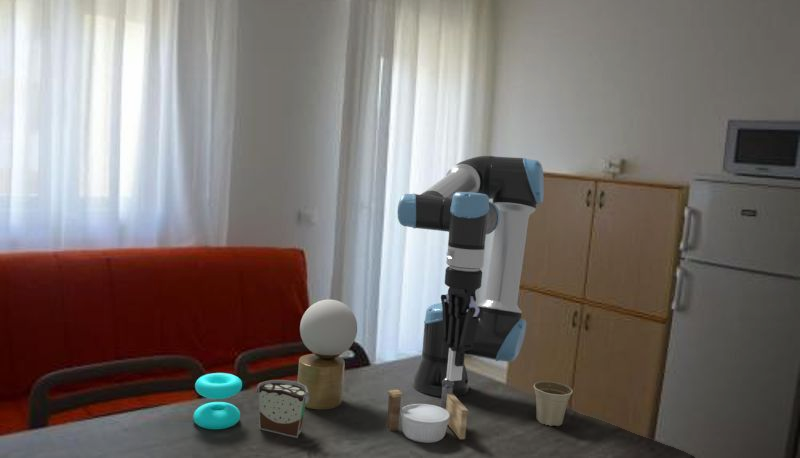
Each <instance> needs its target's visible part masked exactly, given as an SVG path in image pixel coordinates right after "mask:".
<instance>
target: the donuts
mask: <svg viewBox="0 0 800 458" xmlns="http://www.w3.org/2000/svg"><path fill="white" fill-rule="evenodd" d="M242 387H243V381H242V379H241V378H239V376H236V375H234V374H232V373H226V372H213V373H207V374H203V375H201V376H200V377H198V379H196V382H195V384H194V388H195V391H196V392H197V393H198V394H199V395H200V396H202V397H205V398H207V399H212V400H224V399H228V398H232V397H234V396H236V395H237V394H239V393H240V392H241V390H242ZM240 419H241V411H240V410H239V408H238V407H237V406H235V405H234V404H232V403H229V402H225V401H213V402H208V403H207V402H206V403H204V404H202V405H200V406H198V408H196V409H195V411H194V413H193V421H194V423H195V424H196V425H197V426H199V427H201V428H202V429H206V430H224V429H227V428H230V427H233V426H235V425H236V424H237V423H238V422H239V421H240Z"/></svg>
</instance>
